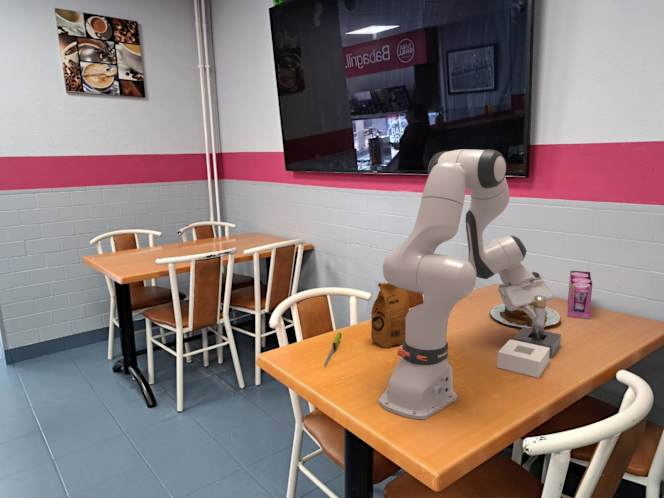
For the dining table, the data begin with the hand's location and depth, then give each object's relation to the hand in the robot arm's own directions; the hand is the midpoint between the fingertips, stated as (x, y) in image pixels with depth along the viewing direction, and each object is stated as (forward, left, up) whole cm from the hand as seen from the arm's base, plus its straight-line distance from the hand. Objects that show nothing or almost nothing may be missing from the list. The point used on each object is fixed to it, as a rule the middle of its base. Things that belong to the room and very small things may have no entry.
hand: (540, 316), depth 153 cm
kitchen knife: (-43, +54, -11) cm, 69 cm away
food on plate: (+26, +11, -12) cm, 31 cm away
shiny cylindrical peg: (0, +1, -8) cm, 8 cm away
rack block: (-16, +1, -11) cm, 19 cm away
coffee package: (-23, +44, -11) cm, 50 cm away
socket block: (0, +1, -11) cm, 11 cm away
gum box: (+50, -3, -11) cm, 51 cm away
